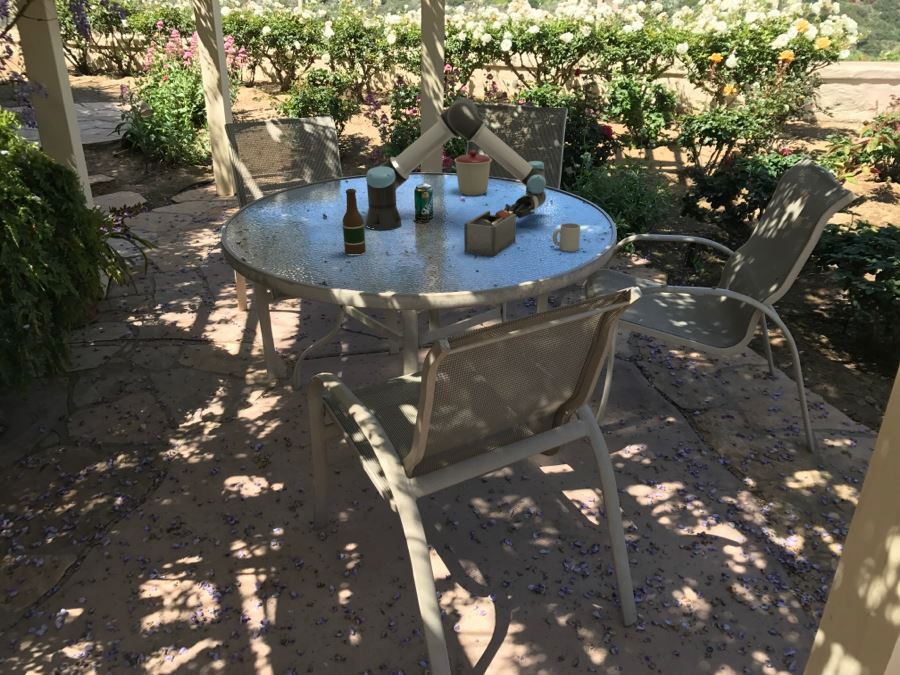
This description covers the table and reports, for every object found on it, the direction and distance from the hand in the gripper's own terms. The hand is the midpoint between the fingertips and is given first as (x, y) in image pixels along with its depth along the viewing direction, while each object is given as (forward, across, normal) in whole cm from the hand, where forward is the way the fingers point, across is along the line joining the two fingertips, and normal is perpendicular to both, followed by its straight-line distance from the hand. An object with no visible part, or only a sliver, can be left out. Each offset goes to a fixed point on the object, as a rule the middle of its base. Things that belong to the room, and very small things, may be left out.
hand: (504, 218), depth 273 cm
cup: (+3, -26, -8) cm, 27 cm away
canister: (-62, +42, -8) cm, 76 cm away
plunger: (+9, +1, -4) cm, 10 cm away
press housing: (+12, +1, -8) cm, 15 cm away
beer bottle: (+39, +44, -8) cm, 60 cm away
